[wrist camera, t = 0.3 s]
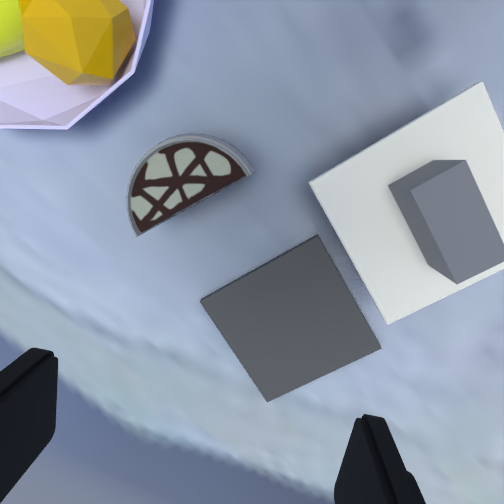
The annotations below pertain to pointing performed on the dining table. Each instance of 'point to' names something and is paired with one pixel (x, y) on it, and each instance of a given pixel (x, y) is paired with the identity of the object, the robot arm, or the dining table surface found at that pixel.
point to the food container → (181, 177)
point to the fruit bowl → (66, 57)
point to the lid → (423, 205)
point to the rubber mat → (291, 320)
